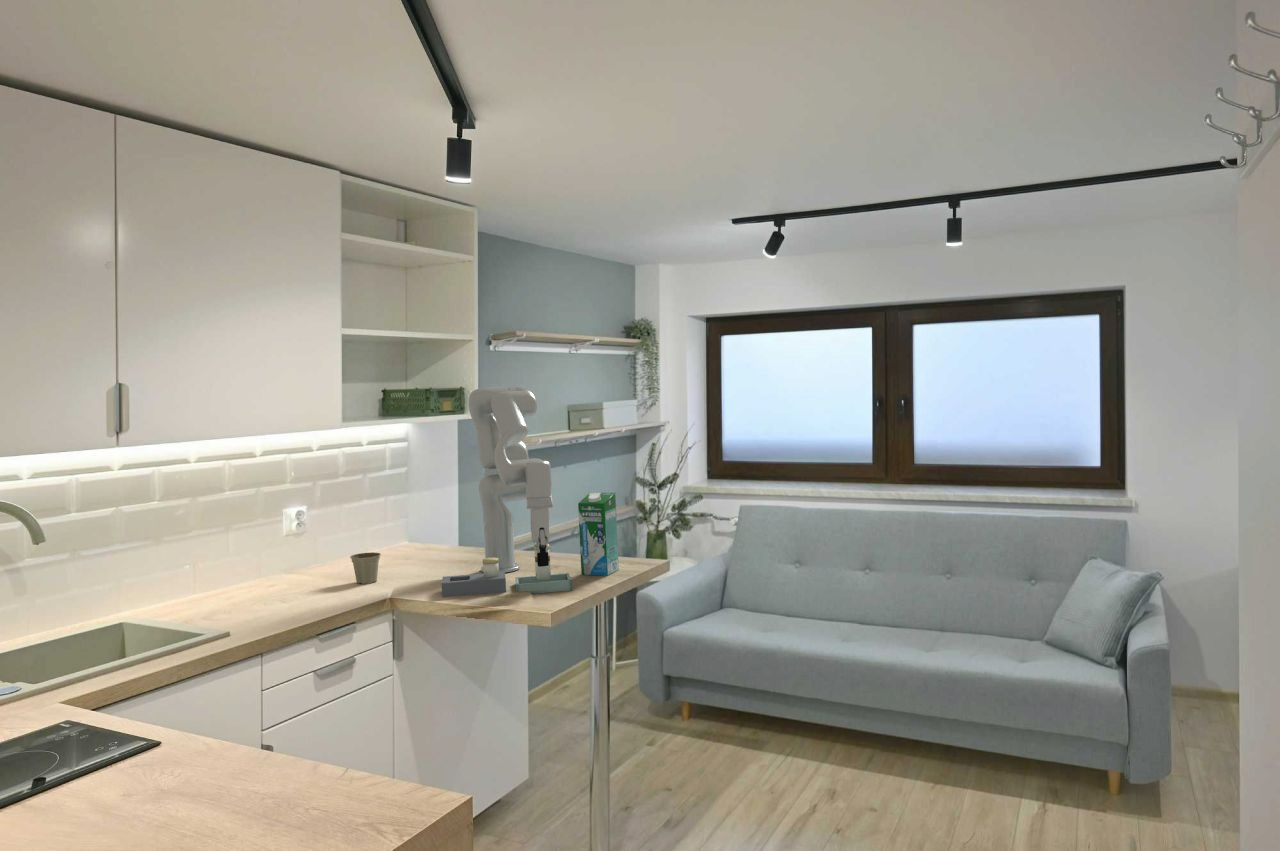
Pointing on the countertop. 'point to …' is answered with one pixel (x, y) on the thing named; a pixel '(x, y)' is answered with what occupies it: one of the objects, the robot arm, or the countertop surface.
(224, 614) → the countertop surface
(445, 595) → the block
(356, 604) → the countertop surface
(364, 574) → the flower pot
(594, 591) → the countertop surface
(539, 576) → the fuse
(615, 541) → the milk carton
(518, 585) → the tray
